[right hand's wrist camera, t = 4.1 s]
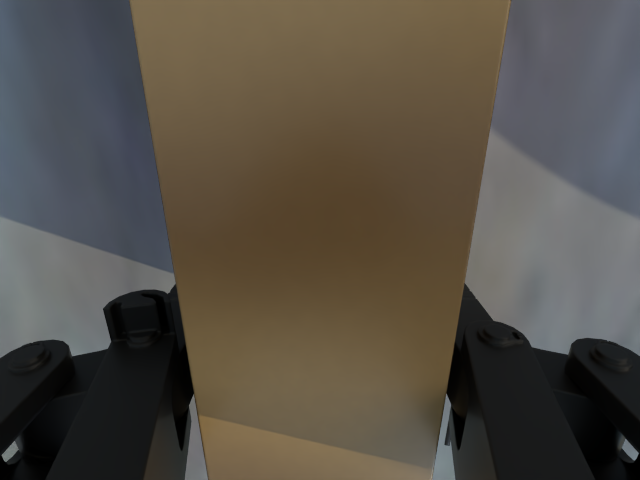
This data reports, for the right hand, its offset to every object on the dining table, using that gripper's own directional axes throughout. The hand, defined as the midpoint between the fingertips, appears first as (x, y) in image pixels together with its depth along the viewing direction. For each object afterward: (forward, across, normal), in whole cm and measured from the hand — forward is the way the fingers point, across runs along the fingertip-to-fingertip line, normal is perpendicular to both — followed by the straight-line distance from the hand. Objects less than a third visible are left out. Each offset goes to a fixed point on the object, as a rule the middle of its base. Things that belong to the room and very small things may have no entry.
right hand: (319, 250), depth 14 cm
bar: (+1, 0, -9) cm, 9 cm away
